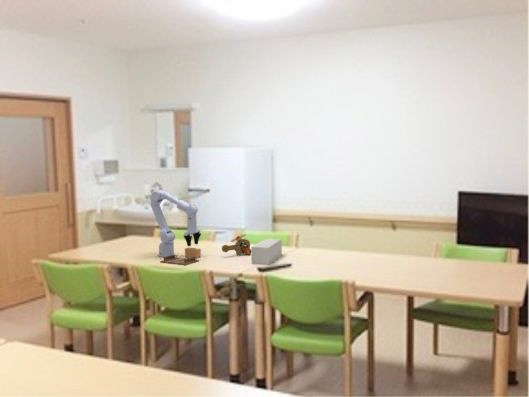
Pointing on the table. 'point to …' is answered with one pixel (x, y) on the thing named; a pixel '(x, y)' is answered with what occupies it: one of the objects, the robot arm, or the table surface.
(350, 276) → the table surface
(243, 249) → the brown lumpy shape
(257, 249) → the grey rectangular brick
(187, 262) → the walnut cradle
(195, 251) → the tall tan cuboid
